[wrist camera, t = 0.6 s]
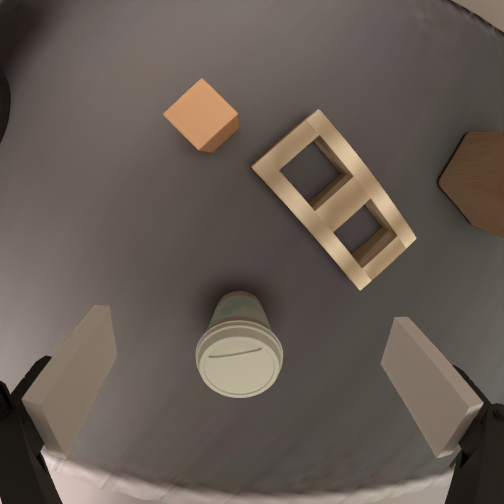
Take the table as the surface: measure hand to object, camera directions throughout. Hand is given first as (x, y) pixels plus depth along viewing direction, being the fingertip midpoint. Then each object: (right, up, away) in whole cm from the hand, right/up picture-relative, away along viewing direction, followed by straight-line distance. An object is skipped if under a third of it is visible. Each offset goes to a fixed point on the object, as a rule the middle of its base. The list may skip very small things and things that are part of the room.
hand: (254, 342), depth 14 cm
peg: (-4, +18, +20) cm, 27 cm away
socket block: (+9, +10, +22) cm, 26 cm away
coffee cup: (-2, -3, +26) cm, 26 cm away
